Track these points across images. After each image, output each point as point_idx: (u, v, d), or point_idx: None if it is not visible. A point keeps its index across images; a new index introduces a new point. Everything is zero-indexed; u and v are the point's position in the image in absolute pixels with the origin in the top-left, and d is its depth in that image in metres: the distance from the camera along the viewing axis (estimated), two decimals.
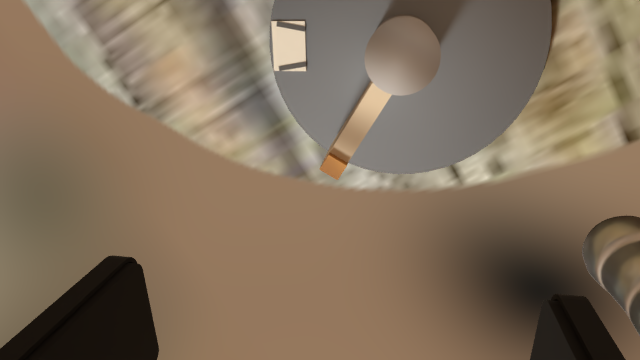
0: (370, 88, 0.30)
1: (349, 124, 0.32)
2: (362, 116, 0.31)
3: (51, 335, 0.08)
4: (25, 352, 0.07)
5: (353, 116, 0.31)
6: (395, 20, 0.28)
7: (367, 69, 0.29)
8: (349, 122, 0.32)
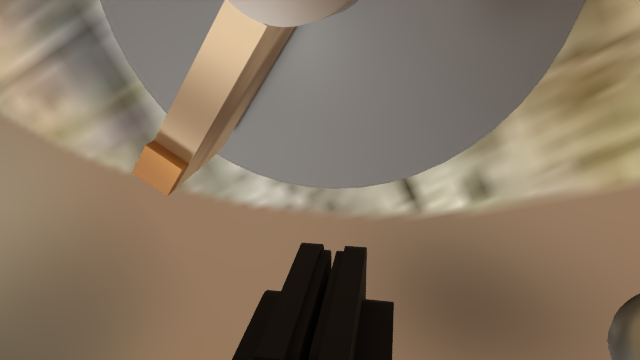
0: (223, 9, 0.14)
1: (186, 86, 0.16)
2: (210, 71, 0.15)
3: (301, 314, 0.08)
4: (293, 329, 0.08)
5: (193, 69, 0.15)
6: None
7: None
8: (186, 82, 0.15)
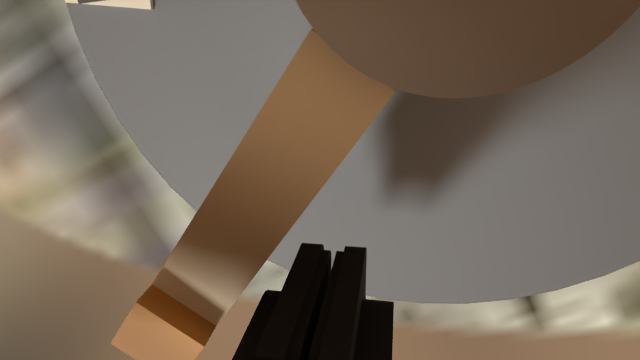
0: (301, 55, 0.07)
1: (217, 197, 0.08)
2: (266, 173, 0.08)
3: (301, 314, 0.08)
4: (293, 329, 0.08)
5: (231, 168, 0.08)
6: None
7: None
8: (217, 189, 0.08)
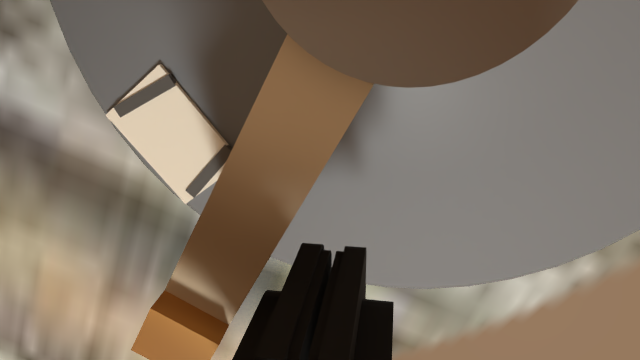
0: (281, 59, 0.07)
1: (216, 202, 0.08)
2: (260, 175, 0.08)
3: (301, 315, 0.08)
4: (293, 330, 0.08)
5: (227, 173, 0.08)
6: None
7: None
8: (216, 195, 0.08)
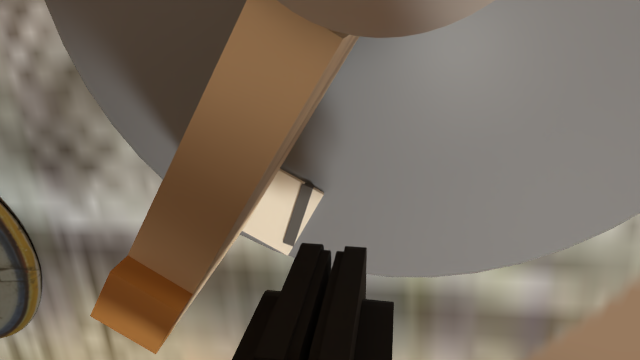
0: (249, 9, 0.07)
1: (181, 161, 0.08)
2: (226, 133, 0.08)
3: (301, 314, 0.08)
4: (293, 329, 0.08)
5: (193, 130, 0.08)
6: None
7: None
8: (181, 153, 0.08)
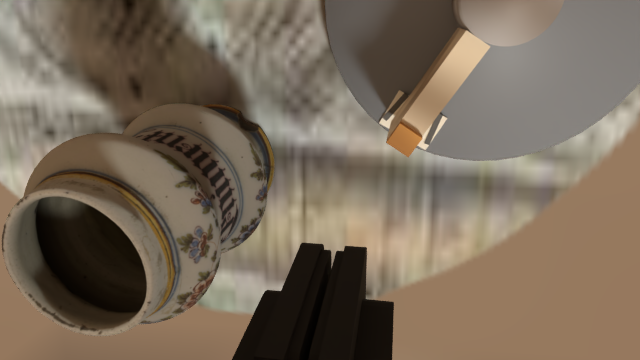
0: (463, 37, 0.24)
1: (430, 85, 0.25)
2: (447, 75, 0.25)
3: (301, 314, 0.08)
4: (293, 329, 0.08)
5: (436, 74, 0.25)
6: None
7: (463, 10, 0.23)
8: (430, 82, 0.25)
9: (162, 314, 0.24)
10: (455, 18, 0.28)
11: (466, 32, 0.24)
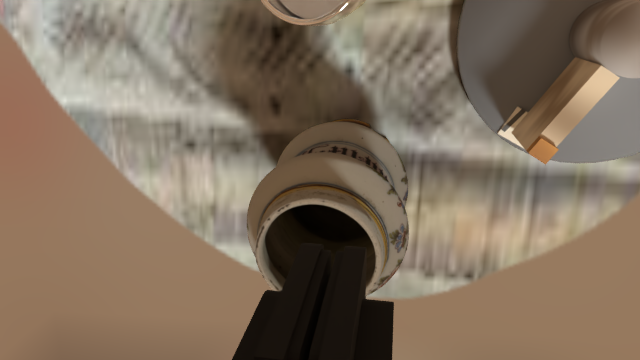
0: (598, 71, 0.30)
1: (567, 107, 0.31)
2: (582, 100, 0.31)
3: (301, 314, 0.08)
4: (293, 330, 0.08)
5: (573, 99, 0.31)
6: None
7: (602, 51, 0.29)
8: (567, 105, 0.31)
9: None
10: (573, 49, 0.35)
11: (601, 67, 0.30)
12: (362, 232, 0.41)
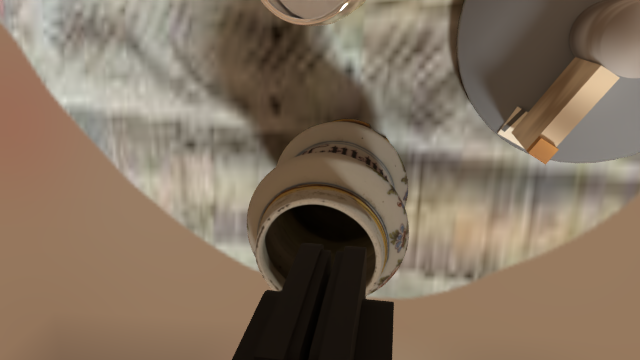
0: (598, 71, 0.30)
1: (567, 107, 0.31)
2: (582, 100, 0.31)
3: (301, 315, 0.08)
4: (293, 330, 0.08)
5: (573, 99, 0.31)
6: None
7: (602, 51, 0.29)
8: (567, 105, 0.31)
9: None
10: (573, 49, 0.35)
11: (601, 67, 0.30)
12: (362, 232, 0.41)
